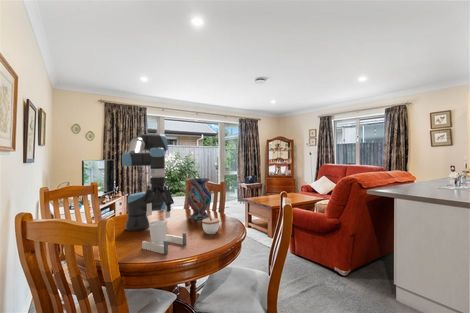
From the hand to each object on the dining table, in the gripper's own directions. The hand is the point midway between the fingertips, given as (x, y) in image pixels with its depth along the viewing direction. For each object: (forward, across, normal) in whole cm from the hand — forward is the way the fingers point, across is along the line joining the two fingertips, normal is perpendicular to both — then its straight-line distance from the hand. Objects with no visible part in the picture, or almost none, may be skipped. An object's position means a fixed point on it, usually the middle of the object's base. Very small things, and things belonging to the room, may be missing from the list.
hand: (158, 216), depth 128 cm
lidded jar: (+15, +13, +30) cm, 36 cm away
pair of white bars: (+15, +4, 0) cm, 16 cm away
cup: (+16, 0, 0) cm, 16 cm away
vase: (+15, -17, +58) cm, 63 cm away
